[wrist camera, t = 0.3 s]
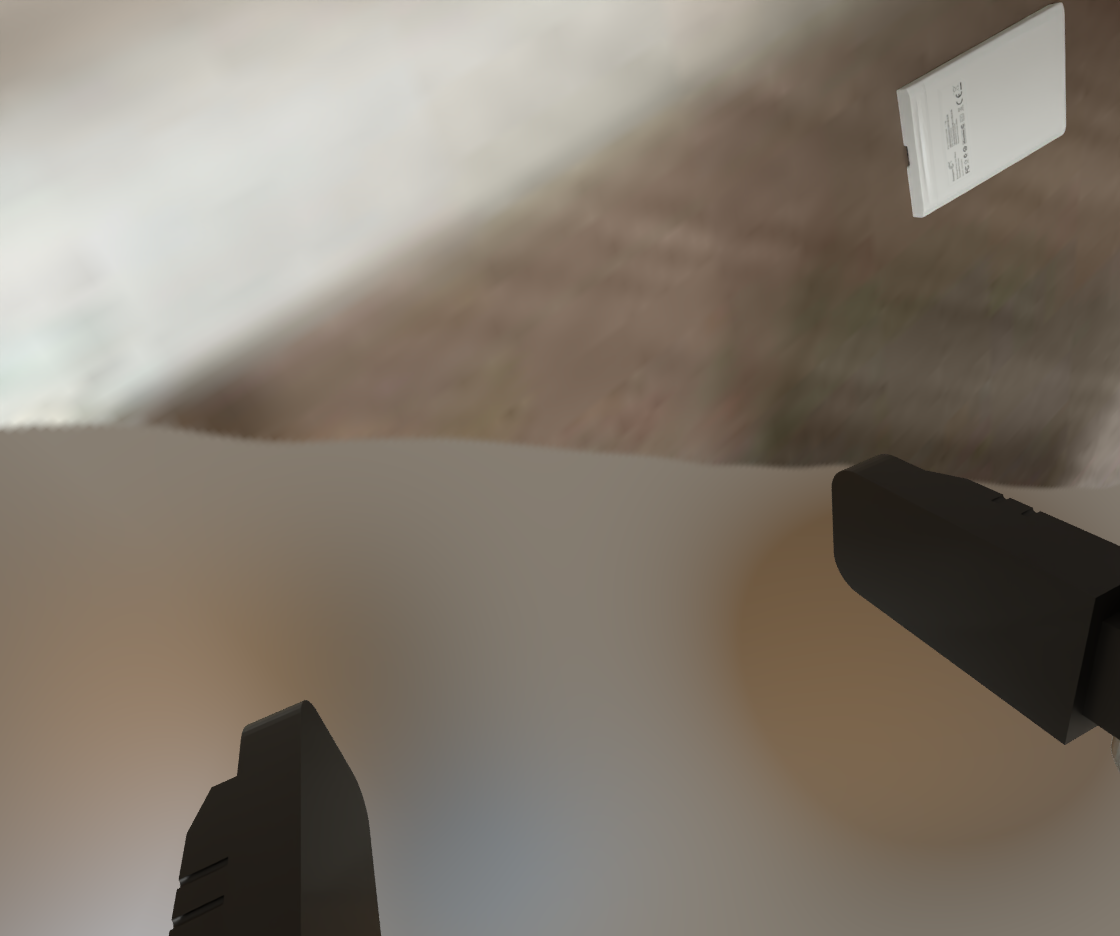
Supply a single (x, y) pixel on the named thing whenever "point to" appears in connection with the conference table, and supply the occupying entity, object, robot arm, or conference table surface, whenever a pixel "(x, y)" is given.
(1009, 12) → the conference table surface
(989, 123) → the external hard drive
